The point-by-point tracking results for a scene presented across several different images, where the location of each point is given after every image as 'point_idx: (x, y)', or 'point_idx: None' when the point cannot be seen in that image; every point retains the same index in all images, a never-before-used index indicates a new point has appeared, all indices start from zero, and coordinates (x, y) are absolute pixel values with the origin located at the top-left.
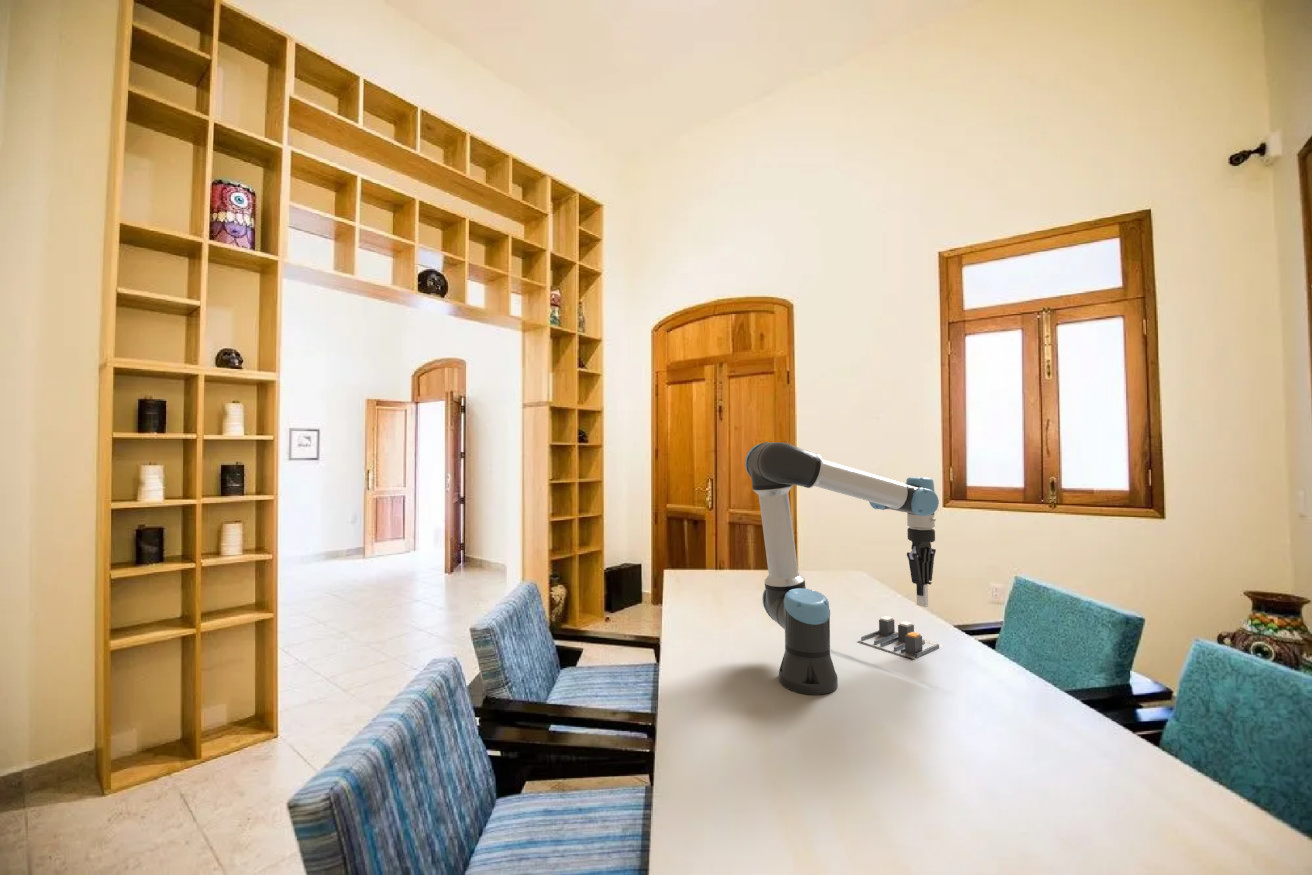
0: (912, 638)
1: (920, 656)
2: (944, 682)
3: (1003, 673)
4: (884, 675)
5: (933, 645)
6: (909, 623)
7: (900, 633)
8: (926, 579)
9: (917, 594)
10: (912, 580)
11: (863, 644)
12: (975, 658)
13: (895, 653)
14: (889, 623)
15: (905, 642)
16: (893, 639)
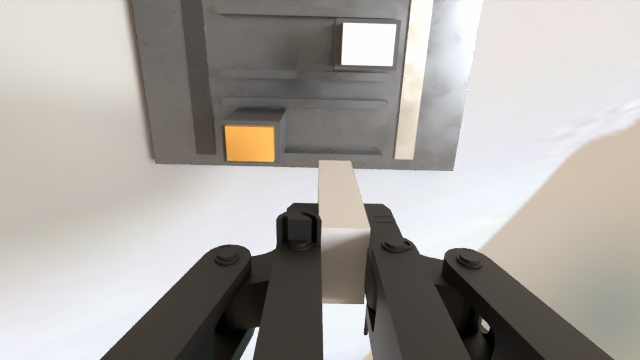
0: (224, 150)
1: None
2: (172, 253)
3: (352, 312)
4: (57, 134)
5: (355, 154)
6: (376, 59)
7: (334, 33)
8: (369, 332)
9: (290, 208)
10: (199, 268)
11: None
12: (407, 238)
13: (202, 87)
14: None
15: (228, 115)
16: (305, 16)
